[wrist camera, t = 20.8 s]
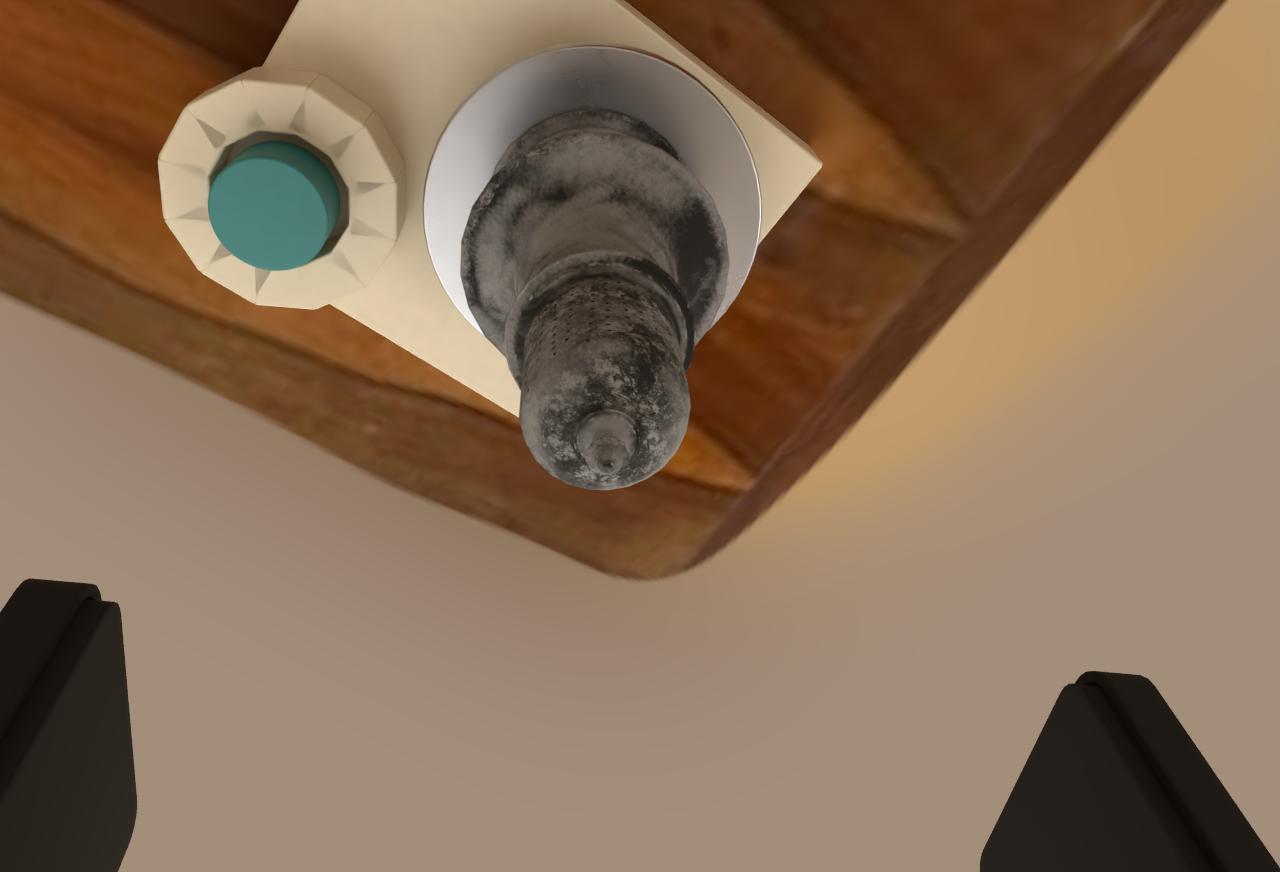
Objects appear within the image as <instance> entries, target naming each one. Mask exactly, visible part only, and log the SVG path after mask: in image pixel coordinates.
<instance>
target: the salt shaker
mask: <svg viewBox="0 0 1280 872" xmlns="http://www.w3.org/2000/svg"><path fill="white" fill-rule="evenodd" d="M729 265H730V262H729V253H728V244H727V236H726V230H725V227H724V225H723V222H722V220H721V217H720V215H719V213H718V210H717V208H716V205H715V203H714V201H713V198H712V197H711V195H710V194H709V193H708V191H707V190H706V189H705V188H704V186H703V185H702V184H701V183H700V181H699V180H698V179H697V177H696V176H695V175H694V174H693V172H692V171H691V170H690V169H689V168H687V166H686V163H685V161H684V160H683V159H682V157H681V156H680V155H679V154H678V152H677V151H676V150H675V149H674V147H673V146H672V145H671V144H670V142H669V141H668V140H667V139H666V138H665V137H663V136H662V135H661V134H659V133H658V132H657V131H655V130H654V129H652V128H651V127H650V126H648V125H647V124H646V123H644V122H642V121H639V120H637V119H634V118H631V117H629V116H626V115H624V114H621V113H618V112H613V111H603V110H593V109H584V110H578V111H572V112H567V113H561V114H557V115H555V116H553V117H551V118H549V119H546V120H544V121H542V122H540V123H538V124H536V125H534V126H532V127H531V128H529V129H528V130H527V131H526V132H525V133H524V134H522V135H521V136H520V137H519V138H518V139H517V140H515V141H514V142H513V143H512V144H511V145H510V146H509V148H508V149H507V151H506V152H505V154H504V155H503V157H502V158H501V160H500V161H499V163H498V164H497V166H496V167H495V169H494V172H493V175H492V178H491V179H490V181H489V182H488V184H487V185H486V186H485V188H484V189H483V191H482V192H481V194H480V195H479V197H478V198H477V200H476V201H475V203H474V204H473V206H472V208H471V212H470V215H469V218H468V221H467V224H466V227H465V230H464V233H463V236H462V240H461V263H460V276H461V280H462V284H463V288H464V292H465V296H466V300H467V304H468V307H469V309H470V311H471V313H472V315H473V316H474V318H475V320H476V322H477V323H478V325H479V327H480V329H481V330H482V332H483V334H484V336H485V337H486V338H487V339H488V340H489V341H490V342H491V343H492V344H493V345H494V346H495V347H496V348H497V349H498V350H499V351H500V352H501V353H502V354H503V355H504V356H505V357H506V359H507V363H508V367H509V371H510V372H511V374H512V376H513V378H514V380H515V382H516V383H517V385H518V387H519V389H520V390H521V396H520V409H519V419H520V424H521V428H522V432H523V436H524V439H525V441H526V444H527V446H528V447H529V449H530V451H531V453H532V454H533V456H534V458H535V460H536V461H537V462H538V463H539V464H540V465H541V466H542V467H543V468H544V469H545V470H546V471H547V472H548V473H549V474H551V475H553V476H554V477H556V478H558V479H560V480H561V481H563V482H565V483H567V484H570V485H574V486H577V487H580V488H584V489H593V490H611V489H617V488H623V487H628V486H631V485H633V484H636V483H638V482H640V481H643V480H645V479H647V478H649V477H650V476H652V475H653V474H654V473H656V472H657V471H659V470H660V469H661V468H663V467H664V466H665V465H666V464H667V463H668V461H669V460H670V459H671V458H672V457H673V456H674V454H675V453H676V452H677V450H678V448H679V446H680V444H681V442H682V440H683V438H684V436H685V433H686V430H687V425H688V419H689V413H690V407H691V405H690V397H689V390H688V384H687V379H686V373H687V371H688V369H689V367H690V365H691V363H692V360H693V355H694V349H695V345H696V344H697V343H698V342H699V340H700V339H701V338H702V337H703V336H704V334H705V333H706V332H707V331H708V329H709V328H710V327H711V325H712V323H713V321H714V319H715V316H716V314H717V312H718V310H719V308H720V305H721V303H722V301H723V299H724V297H725V290H726V284H727V278H728V272H729Z"/></svg>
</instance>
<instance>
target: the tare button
mask: <svg viewBox="0 0 1280 872" xmlns="http://www.w3.org/2000/svg"><path fill="white" fill-rule="evenodd" d="M339 211H340V196H339V191H338V187H337V185H336V182H335V180H334V178H333V176H332V174H331V172H330V171H329V169H328V168H327V167H326V166H325V164H324V163H323V162H322V161H321V160H320V159H319V158H318V157H316V156H315V155H314V154H312V153H311V152H310V151H308V150H306V149H304V148H303V147H300V146H298V145H295V144H292V143H289V142H283V141H265V142H260V143H257V144H254V145H251V146H249V147H248V148H246V149H244V150H243V151H242V152H241V153H239V154H238V155H237V156H236V157H235V158H234V159H233V160H232V161H231V162H230V163H229V164H228V165H227V166H226V167H225V168H224V169H223V170H222V171H221V172H220V173H219V174H218V175H217V177H216V178H215V180H214V182H213V184H212V186H211V188H210V192H209V196H208V214H209V219H210V222H211V225H212V228H213V230H214V232H215V234H216V236H217V237H218V239H219V240H220V242H221V243H222V244H223V246H224V247H225V248H226V249H227V250H228V251H229V252H230V253H232V254H233V255H234V256H235V257H237V258H238V259H240V260H241V261H243V262H245V263H247V264H249V265H251V266H254V267H256V268H260V269H264V270H271V271H283V270H290V269H294V268H297V267H299V266H302V265H304V264H305V263H307V262H309V261H310V260H311V259H313V258H314V257H315V256H316V255H317V254H318V252H319V251H320V250H321V248H322V247H323V245H324V243H325V242H326V240H327V238H328V237H329V235H330V233H331V232H332V230H333V228H334V226H335V224H336V222H337V219H338V216H339Z"/></svg>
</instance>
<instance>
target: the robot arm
mask: <svg viewBox="0 0 1280 872" xmlns="http://www.w3.org/2000/svg"><path fill="white" fill-rule="evenodd" d="M122 633H123V632H122V621H121V612H120V607H119V605H118V603H115V602H108V601H102V600H101V594H100V591H99V589H98V587H97V586H96V585H93V584H86V583H75V582H63V581H52V580H41V579H27V580H25V581H23V582H22V583H21V584H20V586H19V587H18V588H17V589H16V590H15V592H14V593H13V595H12V596H11V598H10V599H9V600H8V602H7V604H6V605H5V606H4V608H3V609H2V611H1V612H0V872H118V870H119V867H120V865H121V862H122V860H123V858H124V855H125V853H126V850H127V848H128V845H129V842H130V839H131V837H132V833H133V829H134V825H135V819H136V813H137V795H136V783H135V771H134V760H133V748H132V737H131V725H130V713H129V702H128V690H127V679H126V667H125V656H124V644H123V634H122ZM980 872H1280V868H1279V866H1278V865H1277V863H1276V862H1275V860H1274V859H1273V857H1272V856H1271V854H1270V853H1269V852H1268V850H1267V849H1266V847H1265V846H1264V844H1263V843H1262V841H1261V840H1260V838H1259V837H1258V836H1257V834H1256V833H1255V831H1254V830H1253V829H1252V827H1251V825H1250V824H1249V822H1248V821H1247V820H1246V818H1245V817H1244V815H1243V814H1242V812H1241V811H1240V809H1239V808H1238V806H1237V805H1236V803H1235V802H1234V801H1233V799H1232V798H1231V796H1230V795H1229V793H1228V792H1227V790H1226V789H1225V788H1224V786H1223V785H1222V783H1221V782H1220V780H1219V779H1218V777H1217V776H1216V774H1215V773H1214V772H1213V770H1212V769H1211V767H1210V766H1209V764H1208V763H1207V761H1206V760H1205V758H1204V757H1203V755H1202V754H1201V752H1200V751H1199V750H1198V748H1197V747H1196V745H1195V744H1194V742H1193V741H1192V739H1191V738H1190V736H1189V735H1188V734H1187V732H1186V731H1185V729H1184V728H1183V726H1182V725H1181V723H1180V722H1179V721H1178V719H1177V718H1176V716H1175V715H1174V713H1173V712H1172V710H1171V709H1170V707H1169V706H1168V705H1167V703H1166V702H1165V700H1164V699H1163V697H1162V696H1161V694H1160V693H1159V691H1158V690H1157V688H1156V687H1155V686H1154V685H1153V684H1152V682H1151V681H1150V680H1149V679H1147V678H1145V677H1143V676H1141V675H1132V674H1121V673H1109V672H1097V671H1088V672H1085V673H1084V674H1082V675H1081V676H1080V677H1079V678H1078V680H1077V681H1076V682H1075V684H1068V685H1067V686H1065V687H1064V688H1063V690H1062V691H1061V693H1060V695H1059V697H1058V699H1057V701H1056V703H1055V705H1054V707H1053V709H1052V711H1051V713H1050V715H1049V717H1048V719H1047V721H1046V723H1045V725H1044V727H1043V729H1042V732H1041V734H1040V735H1039V738H1038V739H1037V742H1036V744H1035V746H1034V748H1033V750H1032V752H1031V754H1030V756H1029V758H1028V760H1027V762H1026V764H1025V766H1024V768H1023V770H1022V772H1021V774H1020V776H1019V778H1018V780H1017V782H1016V784H1015V786H1014V788H1013V791H1012V792H1011V795H1010V797H1009V799H1008V801H1007V803H1006V805H1005V807H1004V809H1003V811H1002V813H1001V815H1000V817H999V819H998V821H997V823H996V825H995V827H994V829H993V831H992V833H991V835H990V837H989V839H988V841H987V843H986V845H985V847H984V850H983V852H982V856H981V861H980Z"/></svg>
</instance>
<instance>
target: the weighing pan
mask: <svg viewBox="0 0 1280 872" xmlns="http://www.w3.org/2000/svg"><path fill="white" fill-rule="evenodd" d="M584 109H593V110H603V111H613V112H618V113H621V114H624V115H626V116H629V117H631V118H634V119H637V120H639V121H642V122H644V123H646V124H647V125H648V126H650V127H651V128H652V129H654V130H655V131H657V132H658V133H659V134H661V135H662V136H663V137H665V138H666V139H667V140H668V141H669V142H670V144H671V145H672V146H673V147H674V149H675V150H676V151H677V152H678V154H679V155H680V156H681V157H682V159H683V160H684V161H685V163H686V166H687V168H689V169H690V170H691V171H692V172H693V174H694V175H695V176H696V177H697V179H698V180H699V181H700V183H701V184H702V185H703V186H704V188H705V189H706V190H707V191H708V193H709V194H710V195H711V197H712V198H713V201H714V203H715V205H716V208H717V210H718V213H719V215H720V217H721V220H722V222H723V225H724V227H725V230H726V236H727V244H728V253H729V262H730V265H729V272H728V278H727V284H726V290H725V297H724V299H723V301H722V303H721V305H720V308H719V310H718V312H717V314H716V316H715V319H714V321H713V323H712V325H711V327H712V326H713V325H714V324H715V323H716V322H717V321H718V320H719V319H720V318H721V317H722V316H723V314H724V313H725V312H726V311H727V309H728V308H729V307H730V305H731V304H732V302H733V301H734V300H735V298H736V297H737V295H738V293H739V292H740V290H741V288H742V286H743V284H744V283H745V281H746V279H747V277H748V274H749V272H750V269H751V266H752V264H753V261H754V259H755V255H756V251H757V247H758V243H759V239H760V230H761V221H762V199H761V190H760V184H759V177H758V172H757V169H756V166H755V163H754V159H753V156H752V153H751V151H750V148H749V146H748V144H747V142H746V140H745V138H744V135H743V133H742V131H741V130H740V128H739V126H738V125H737V123H736V122H735V120H734V119H733V117H732V115H731V114H730V112H729V111H728V109H727V108H726V107H725V106H724V104H723V103H722V102H721V101H720V100H719V99H718V97H717V96H716V95H715V94H714V93H713V92H712V91H711V90H710V89H709V88H708V87H707V86H706V85H704V84H703V83H702V82H701V81H700V80H699V79H698V78H697V77H695V76H694V75H692V74H691V73H689V72H688V71H686V70H685V69H683V68H682V67H681V66H679V65H678V64H676V63H674V62H672V61H670V60H668V59H665V58H663V57H661V56H659V55H657V54H655V53H652V52H649V51H646V50H643V49H640V48H637V47H633V46H628V45H623V44H617V43H612V42H592V41H585V42H574V43H564V44H559V45H555V46H551V47H547V48H542V49H539V50H537V51H534V52H531V53H529V54H526V55H524V56H521V57H519V58H517V59H515V60H513V61H511V62H510V63H508V64H506V65H504V66H502V67H501V68H499V69H497V70H496V71H495V72H493V73H492V74H491V75H490V76H488V77H487V78H486V79H484V80H483V81H482V82H480V83H479V84H478V85H477V86H476V87H475V88H474V89H473V90H472V91H471V92H470V93H469V94H468V95H467V96H466V97H465V98H464V99H463V101H462V102H461V103H460V105H459V106H458V107H457V109H456V110H455V111H454V113H453V114H452V115H451V117H450V118H449V120H448V122H447V124H446V126H445V127H444V129H443V131H442V133H441V135H440V136H439V139H438V141H437V144H436V146H435V149H434V152H433V154H432V157H431V160H430V162H429V166H428V171H427V175H426V179H425V184H424V194H423V205H422V208H423V228H424V233H425V239H426V244H427V249H428V252H429V255H430V258H431V262H432V265H433V268H434V270H435V272H436V274H437V277H438V279H439V281H440V283H441V285H442V287H443V289H444V290H445V292H446V293H447V295H448V297H449V298H450V300H451V301H452V303H453V304H454V306H455V307H456V308H457V309H458V311H459V312H460V313H461V314H462V315H463V316H464V318H465V319H466V320H467V321H468V322H469V323H470V324H471V325H472V326H473V327H474V328H475V329H476V330H477V331H479V332H480V333H481V334H482V335H483V336H484V334H483V332H482V330H481V329H480V327H479V325H478V323H477V322H476V320H475V318H474V316H473V315H472V313H471V311H470V309H469V307H468V304H467V300H466V296H465V292H464V288H463V284H462V280H461V276H460V263H461V240H462V236H463V233H464V230H465V227H466V224H467V221H468V218H469V215H470V212H471V208H472V206H473V204H474V203H475V201H476V200H477V198H478V197H479V195H480V194H481V192H482V191H483V189H484V188H485V186H486V185H487V184H488V182H489V181H490V179H491V178H492V175H493V172H494V169H495V167H496V166H497V164H498V163H499V161H500V160H501V158H502V157H503V155H504V154H505V152H506V151H507V149H508V148H509V146H510V145H511V144H512V143H513V142H514V141H515V140H517V139H518V138H519V137H520V136H521V135H522V134H524V133H525V132H526V131H527V130H528V129H529V128H531V127H532V126H534V125H536V124H538V123H540V122H542V121H544V120H546V119H549V118H551V117H553V116H555V115H557V114H561V113H567V112H572V111H578V110H584ZM711 327H710V328H711ZM710 328H709V329H710ZM709 329H708V330H709ZM484 337H485V336H484ZM485 338H486V337H485Z"/></svg>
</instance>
